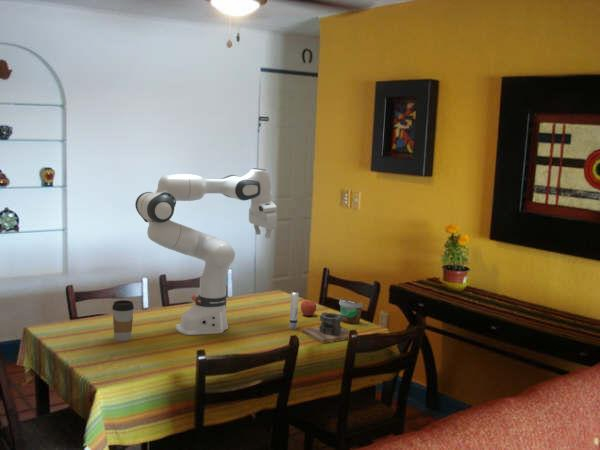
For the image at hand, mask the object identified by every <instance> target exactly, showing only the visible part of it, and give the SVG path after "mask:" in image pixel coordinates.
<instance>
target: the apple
mask: <svg viewBox="0 0 600 450" xmlns="http://www.w3.org/2000/svg"><path fill="white" fill-rule="evenodd" d="M300 310H301V313H302V314H303V315H304V316H306V317H307V316H310V317H312V316H313V315H314V314H315V313H316V311H317V303H316V302H315V301H314V300H304V301H302V302H301V303H300Z"/></svg>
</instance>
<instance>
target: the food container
mask: <svg viewBox="0 0 600 450" xmlns="http://www.w3.org/2000/svg"><path fill="white" fill-rule="evenodd" d="M339 299H340V300H339V302H338V304H339V306H340V315H341V316H342V321H341V323H343V324H346V325H358V324H360V320H361V316H362V308H364V305H363V302H356V301H353V300H347V299H344V297H341V298H339Z"/></svg>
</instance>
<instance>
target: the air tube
mask: <svg viewBox="0 0 600 450" xmlns="http://www.w3.org/2000/svg"><path fill="white" fill-rule="evenodd" d="M289 309H290V310H289V311H290V312H289V329H290V330H291V329H292V330H293V331H294V330H295V331H296V330H297V329H298V313H299V311H298V309H299V292H298V291H297V292H296V291H291V293H290V308H289Z"/></svg>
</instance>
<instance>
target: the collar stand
mask: <svg viewBox="0 0 600 450" xmlns="http://www.w3.org/2000/svg"><path fill="white" fill-rule="evenodd" d="M319 315H320V316H319V321H320V322H321V324H320V325H319V326H313V327H308V328H302V331H301V332H302V334H304V333H305V334H304V335H306V334H307V335H306V336H308V335H309V336H308V337H310V336H311V337H310V338H312V337H313V338H312V339H314V340H315V339H316V341H317V340H318V341H317V342H319V341H320V342H319V343H321V342H322V343H321V344H324V343H323V342H329V343H332V342H331V341H336V340H342V339H343V340H342V341H346V340H345V339H348V334H349V331H351V330H350V329H348V328H346V327H344V326H341V323H342V322H341V321H342V316H341V314H339V313H335V312H327V311H326V312H321V314H319ZM336 342H337V341H336Z"/></svg>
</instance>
